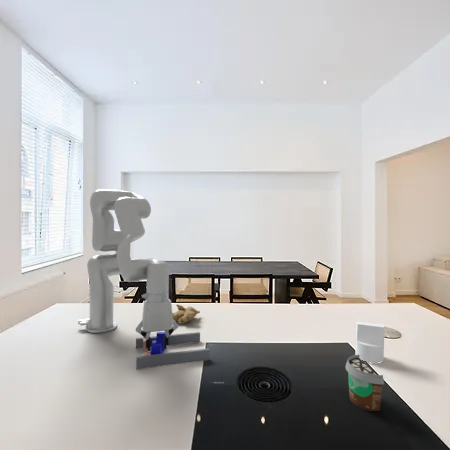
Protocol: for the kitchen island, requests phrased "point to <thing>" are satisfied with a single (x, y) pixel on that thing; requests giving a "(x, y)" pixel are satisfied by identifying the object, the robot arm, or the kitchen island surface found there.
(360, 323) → the cylinder with rectangular tab
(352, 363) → the food container
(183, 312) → the ginger root
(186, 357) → the guide channel
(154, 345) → the cable clip
